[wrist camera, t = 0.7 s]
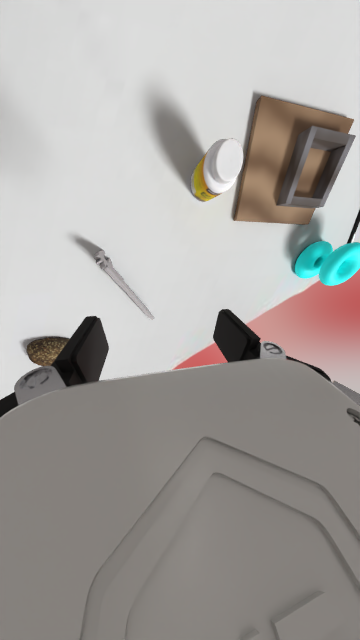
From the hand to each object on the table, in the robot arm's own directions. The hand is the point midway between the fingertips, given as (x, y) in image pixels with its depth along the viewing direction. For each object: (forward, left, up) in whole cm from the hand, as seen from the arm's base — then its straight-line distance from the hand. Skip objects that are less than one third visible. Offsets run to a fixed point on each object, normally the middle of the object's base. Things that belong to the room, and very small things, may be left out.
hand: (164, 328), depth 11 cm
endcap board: (-18, +29, -26) cm, 43 cm away
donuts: (-1, +46, -26) cm, 53 cm away
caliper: (+6, -6, -27) cm, 28 cm away
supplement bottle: (-15, +11, -26) cm, 32 cm away
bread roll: (+24, -30, -27) cm, 47 cm away
